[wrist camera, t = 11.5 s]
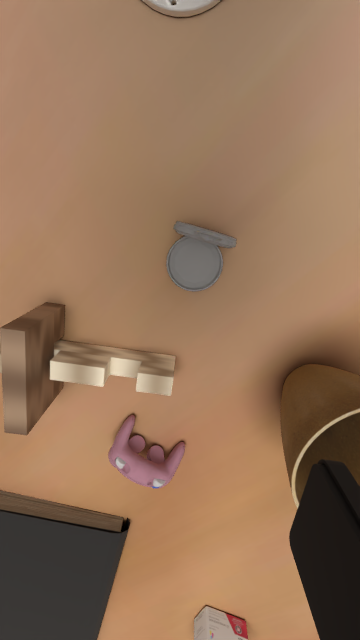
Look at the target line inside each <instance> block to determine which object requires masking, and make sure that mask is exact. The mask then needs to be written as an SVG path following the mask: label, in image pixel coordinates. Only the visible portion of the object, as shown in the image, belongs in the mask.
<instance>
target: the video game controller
mask: <svg viewBox="0 0 360 640" xmlns="http://www.w3.org/2000/svg"><path fill="white" fill-rule="evenodd" d="M134 422H135V416H134V415H130V416H129V417H128V418H127V419H126V420H125V422H124V423H123V425H122V426H121V428H120V430H119V432H118V434H117V436H116V438H115V440H114V443H113V445H112V447H111V448H110V450H109V454H108V457H109V461H110V463H111V464H112V465H113V466H114V467H116V468H117V469H118V470H119V471H120V472H121V473H122V474H123V475H124V476H125V477H127V478H128V479H130V480H131V481H133V482H135V483H137V484H140V485H143V486H147V487H152V488H162V487H163V486H165V485H167V484H168V483H169V482H170V480H171V479H172V477H173V476H174V474H175V472H176V470H177V468H178V466H179V464H180V461H181V459H182V457H183V454H184V451H185V444H184V443H183V442H180V443H179V444H177V445H176V446H175V447H174V449H173V450H172V452H171V453H170V454H169V456H168V458H167V459H166V460H165V459H164V452H163V449H162V448H161V447H160V446H157V445H155V446H152V447H151V448H150V449H149V450H148V451H147V459H146V458H144V457H142V456H140V455H138V453H139V452H141V451H142V450H143V449H144V447H145V441H144V439H143V438H142V437H141V436H139V435H136V436H134V437H132V438H131V439H130V440H129V436H130V434H131V431H132V429H133V426H134Z"/></svg>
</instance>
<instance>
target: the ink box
mask: <svg viewBox="0 0 360 640" xmlns="http://www.w3.org/2000/svg"><path fill="white" fill-rule="evenodd" d="M194 640H248V636H247V628H246V621H244V620H242V619H239V618H237V617H234V616H231V615H229V614H226V613H224V612H221V611H219V610H216V609H213V608H211V607H208V606H206V607H205V608H204V609H203V610H202V611H201V612H200V613H199V614H198V616H197V617H196V618H195V619H194Z"/></svg>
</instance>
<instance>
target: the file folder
mask: <svg viewBox="0 0 360 640" xmlns="http://www.w3.org/2000/svg"><path fill="white" fill-rule="evenodd" d="M122 521H123V517H120V516H115V515H108V514H104V513H99V512H95V511H91V510H86V509H82V508H77V507H73V506H68V505H64V504H60V503H56V502H51V501H47V500H43V499H38V498H33V497H29V496H24V495H19V494H14V493H9V492H5V491H0V640H97V637H98V634H99V630H100V627H101V623H102V620H103V616H104V613H105V609H106V606H107V602H108V599H109V595H110V592H111V588H112V585H113V581H114V578H115V574H116V571H117V567H118V564H119V560H120V557H121V553H122V550H123V546H124V543H125V539H126V536H127V532H128V529H129V525H130V522H129V520H128V518H127V520H126V523H125V527H124V531H123V532H121V526H122Z"/></svg>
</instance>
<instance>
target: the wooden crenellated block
mask: <svg viewBox="0 0 360 640" xmlns="http://www.w3.org/2000/svg"><path fill="white" fill-rule="evenodd" d="M174 367H175V356H172V355H165V354H158V353H151V352H143V351H136V350H129V349H121V348H114V347H107V346H100V345H92V344H85V343H78V342H71V341H63V340H58V341H57V342H56V343H55V344H54V357H53V358H52V359H51V360H50V380H57V381H64V382H72V383H79V384H86V385H94V386H101V387H103V386H104V384H105V383H106V381H107V379H108V377H109V375H116V376H123V377H131V378H137V385H136V391H138V392H145V393H153V394H160V395H168V396H171V391H172V384H173V377H174ZM0 373H2V364H1V342H0Z"/></svg>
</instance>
